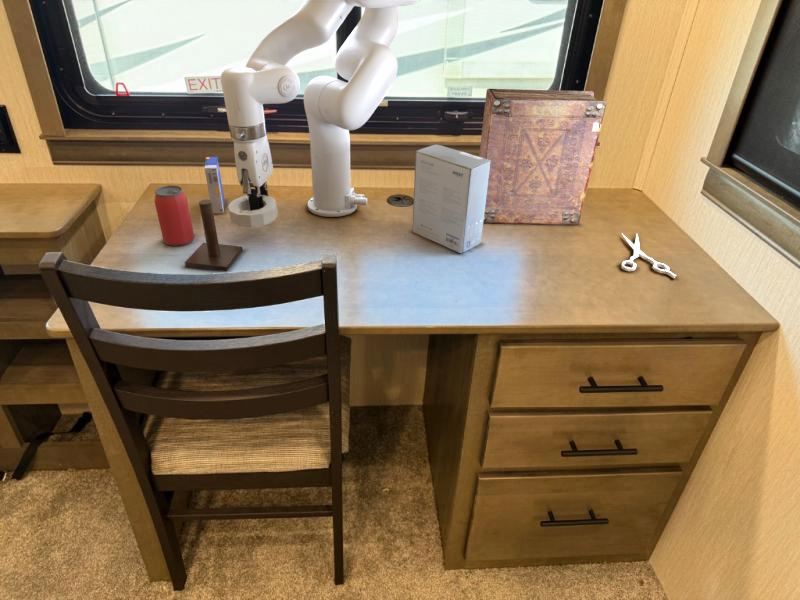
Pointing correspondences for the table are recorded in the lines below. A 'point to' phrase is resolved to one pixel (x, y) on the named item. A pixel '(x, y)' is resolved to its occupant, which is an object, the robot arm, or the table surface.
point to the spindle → (212, 245)
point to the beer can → (174, 215)
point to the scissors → (641, 254)
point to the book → (539, 154)
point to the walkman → (214, 184)
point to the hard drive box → (450, 196)
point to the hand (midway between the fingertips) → (260, 208)
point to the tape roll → (252, 212)
